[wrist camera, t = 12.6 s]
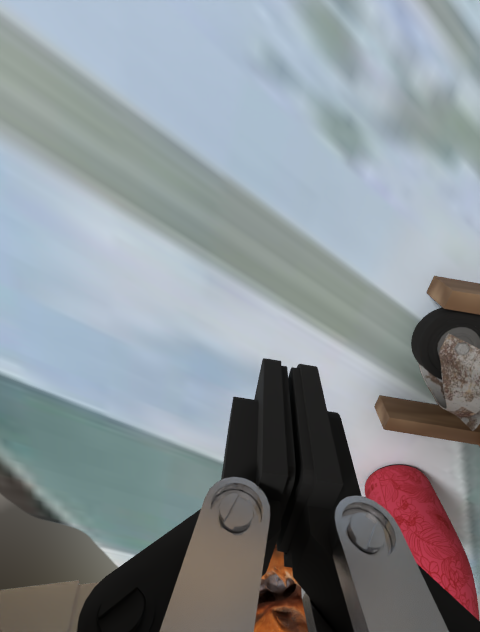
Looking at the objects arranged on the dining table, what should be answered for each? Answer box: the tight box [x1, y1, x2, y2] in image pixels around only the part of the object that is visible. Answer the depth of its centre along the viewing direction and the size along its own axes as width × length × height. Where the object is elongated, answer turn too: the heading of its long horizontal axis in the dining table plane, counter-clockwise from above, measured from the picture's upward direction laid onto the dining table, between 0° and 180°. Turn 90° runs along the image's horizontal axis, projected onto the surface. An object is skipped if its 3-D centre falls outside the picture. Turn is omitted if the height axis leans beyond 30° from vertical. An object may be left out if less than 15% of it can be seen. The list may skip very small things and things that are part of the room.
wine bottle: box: [365, 465, 479, 620], centre depth 38 cm, size 10×10×30 cm
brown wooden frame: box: [374, 276, 480, 446], centre depth 38 cm, size 19×14×6 cm
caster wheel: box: [411, 307, 480, 431], centre depth 37 cm, size 7×11×10 cm
